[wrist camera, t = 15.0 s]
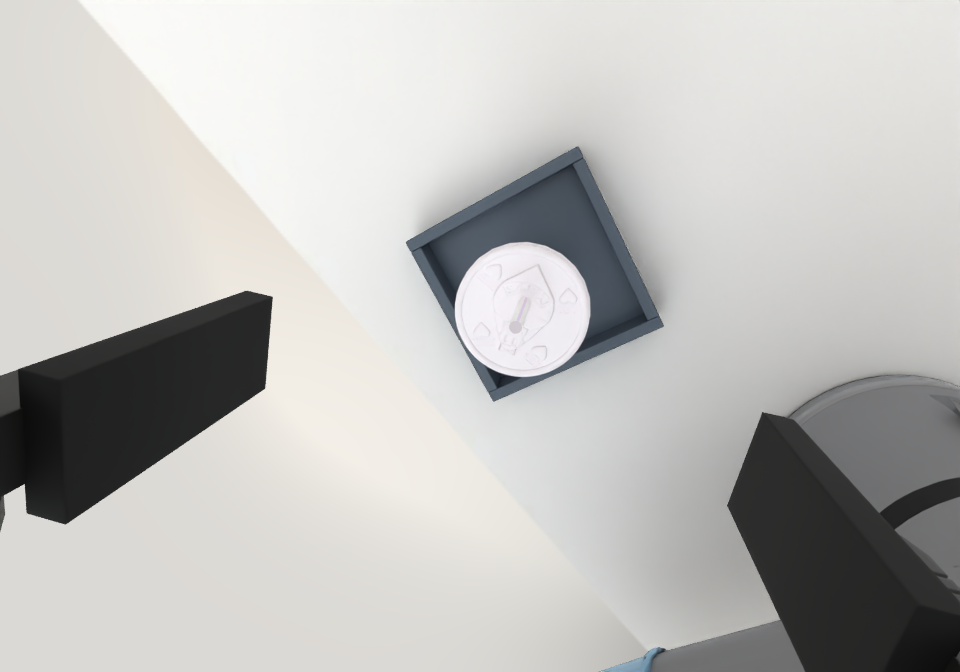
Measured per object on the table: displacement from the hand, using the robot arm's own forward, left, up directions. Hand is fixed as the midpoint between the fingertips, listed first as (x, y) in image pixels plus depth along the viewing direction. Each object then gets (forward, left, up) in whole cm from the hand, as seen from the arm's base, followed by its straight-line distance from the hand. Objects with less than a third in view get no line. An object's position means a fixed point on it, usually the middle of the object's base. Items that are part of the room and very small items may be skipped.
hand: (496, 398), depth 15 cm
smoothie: (0, 0, -21) cm, 21 cm away
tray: (0, 0, -22) cm, 22 cm away
